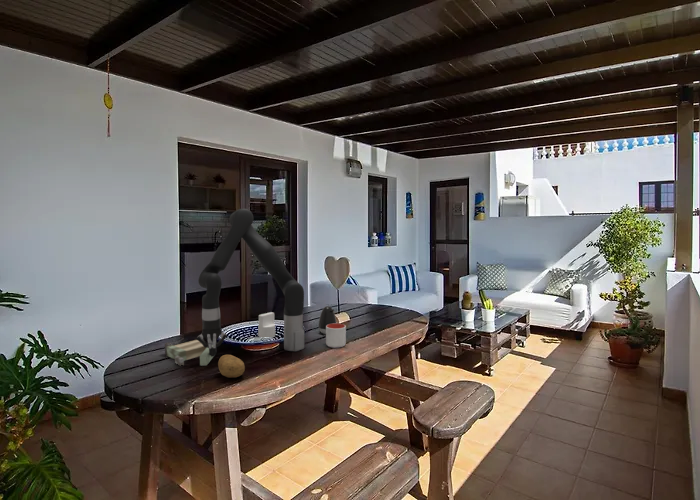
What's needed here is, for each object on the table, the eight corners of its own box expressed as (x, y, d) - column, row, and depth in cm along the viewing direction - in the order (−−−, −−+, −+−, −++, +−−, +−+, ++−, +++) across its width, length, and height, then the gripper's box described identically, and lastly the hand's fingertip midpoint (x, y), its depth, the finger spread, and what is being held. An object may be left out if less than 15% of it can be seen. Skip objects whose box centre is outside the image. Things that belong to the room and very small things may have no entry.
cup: (348, 343, 206) (349, 324, 205) (340, 349, 197) (340, 329, 196) (331, 341, 210) (331, 322, 209) (322, 346, 201) (322, 327, 200)
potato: (228, 385, 155) (228, 365, 154) (212, 374, 165) (212, 355, 164) (251, 378, 161) (251, 359, 161) (234, 368, 172) (234, 350, 171)
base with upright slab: (265, 339, 212) (265, 317, 211) (254, 336, 217) (254, 314, 216) (278, 335, 219) (278, 313, 218) (267, 332, 224) (267, 311, 223)
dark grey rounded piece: (326, 337, 217) (326, 309, 216) (314, 332, 225) (314, 305, 223) (340, 333, 224) (340, 306, 222) (329, 329, 231) (329, 303, 230)
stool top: (215, 355, 187) (215, 344, 187) (180, 366, 174) (180, 354, 173) (193, 346, 199) (192, 336, 199) (158, 355, 186) (158, 344, 185)
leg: (211, 352, 191) (210, 341, 190) (217, 352, 191) (216, 341, 191) (200, 365, 174) (199, 354, 174) (206, 365, 174) (206, 354, 174)
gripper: (227, 314, 181) (228, 351, 183) (196, 316, 178) (197, 354, 180) (226, 318, 174) (228, 357, 176) (194, 321, 171) (195, 360, 172)
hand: (212, 355), depth 178 cm, fingers closed
